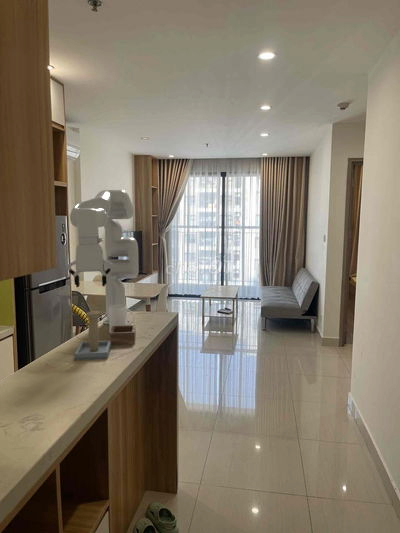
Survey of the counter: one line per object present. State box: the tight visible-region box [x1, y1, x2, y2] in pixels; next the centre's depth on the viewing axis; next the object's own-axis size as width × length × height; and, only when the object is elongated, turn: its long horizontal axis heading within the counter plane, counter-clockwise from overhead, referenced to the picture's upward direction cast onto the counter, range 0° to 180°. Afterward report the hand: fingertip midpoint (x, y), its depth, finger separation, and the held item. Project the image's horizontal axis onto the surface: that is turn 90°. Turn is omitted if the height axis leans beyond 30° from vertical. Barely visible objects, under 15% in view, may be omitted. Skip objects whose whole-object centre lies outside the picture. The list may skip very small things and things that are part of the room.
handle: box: [85, 310, 101, 351], centre depth 152 cm, size 5×6×15 cm
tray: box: [73, 340, 112, 361], centre depth 152 cm, size 14×12×2 cm
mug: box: [108, 304, 135, 334], centre depth 179 cm, size 12×8×12 cm
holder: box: [109, 324, 137, 346], centre depth 167 cm, size 11×10×5 cm
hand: (90, 286), depth 149 cm, fingers open, 9 cm apart
